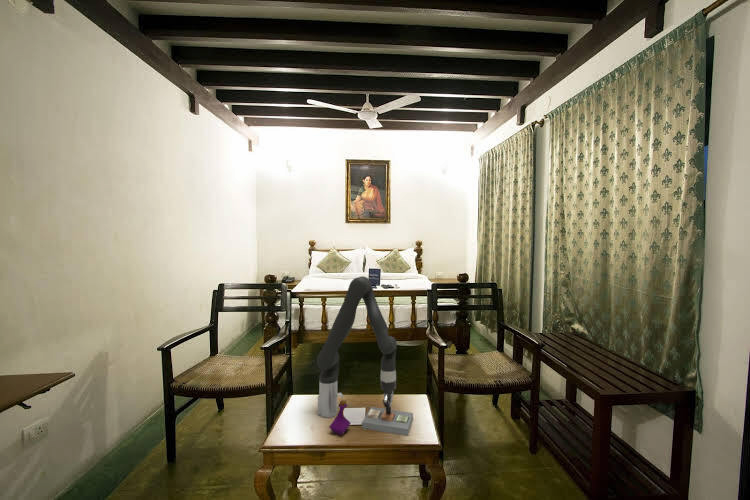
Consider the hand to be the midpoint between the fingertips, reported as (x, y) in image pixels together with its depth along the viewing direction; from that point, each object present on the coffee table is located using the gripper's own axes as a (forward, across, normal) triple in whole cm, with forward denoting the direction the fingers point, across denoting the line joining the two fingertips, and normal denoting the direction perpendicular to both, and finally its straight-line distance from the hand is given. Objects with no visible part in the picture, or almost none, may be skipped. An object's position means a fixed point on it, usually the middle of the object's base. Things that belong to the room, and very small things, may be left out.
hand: (388, 413), depth 161 cm
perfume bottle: (+5, +13, -20) cm, 25 cm away
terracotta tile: (+2, 0, 0) cm, 2 cm away
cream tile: (+2, 0, -7) cm, 8 cm away
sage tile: (+4, 0, +7) cm, 8 cm away
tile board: (+5, 0, 0) cm, 5 cm away
